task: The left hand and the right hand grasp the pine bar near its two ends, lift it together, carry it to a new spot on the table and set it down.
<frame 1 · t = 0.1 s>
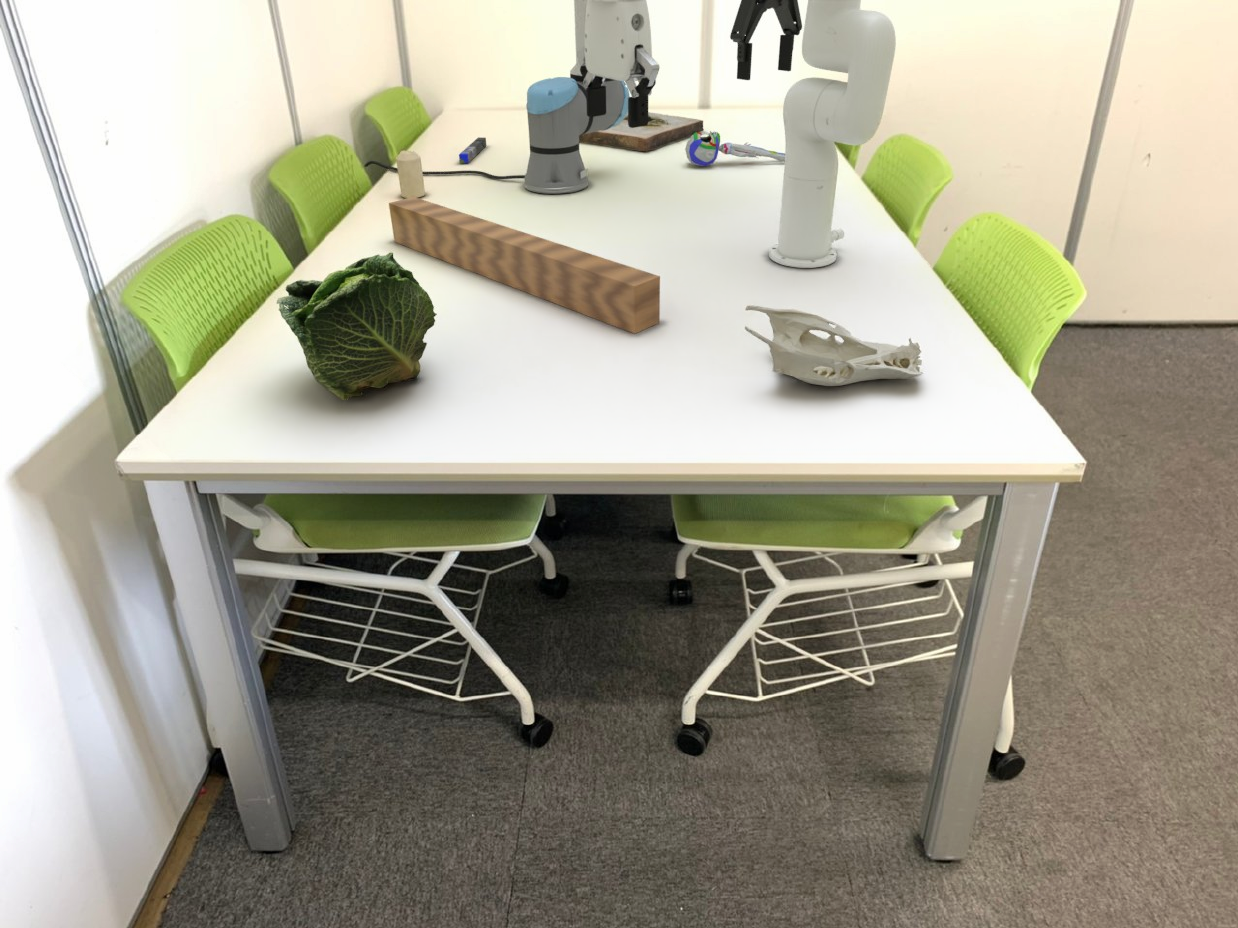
left hand: (764, 75, 179), 28 cm above the table, tool pointing down, fingers open, 13 cm apart
right hand: (616, 121, 130), 31 cm above the table, tool pointing down, fingers open, 9 cm apart
anatomical model: (829, 376, 128), on the table
bar: (512, 278, 163), on the table
vegetable: (370, 382, 129), on the table
toy: (743, 164, 230), on the table
candle: (413, 196, 210), on the table
grey and blue rod: (473, 155, 243), on the table
plaque: (633, 136, 259), on the table
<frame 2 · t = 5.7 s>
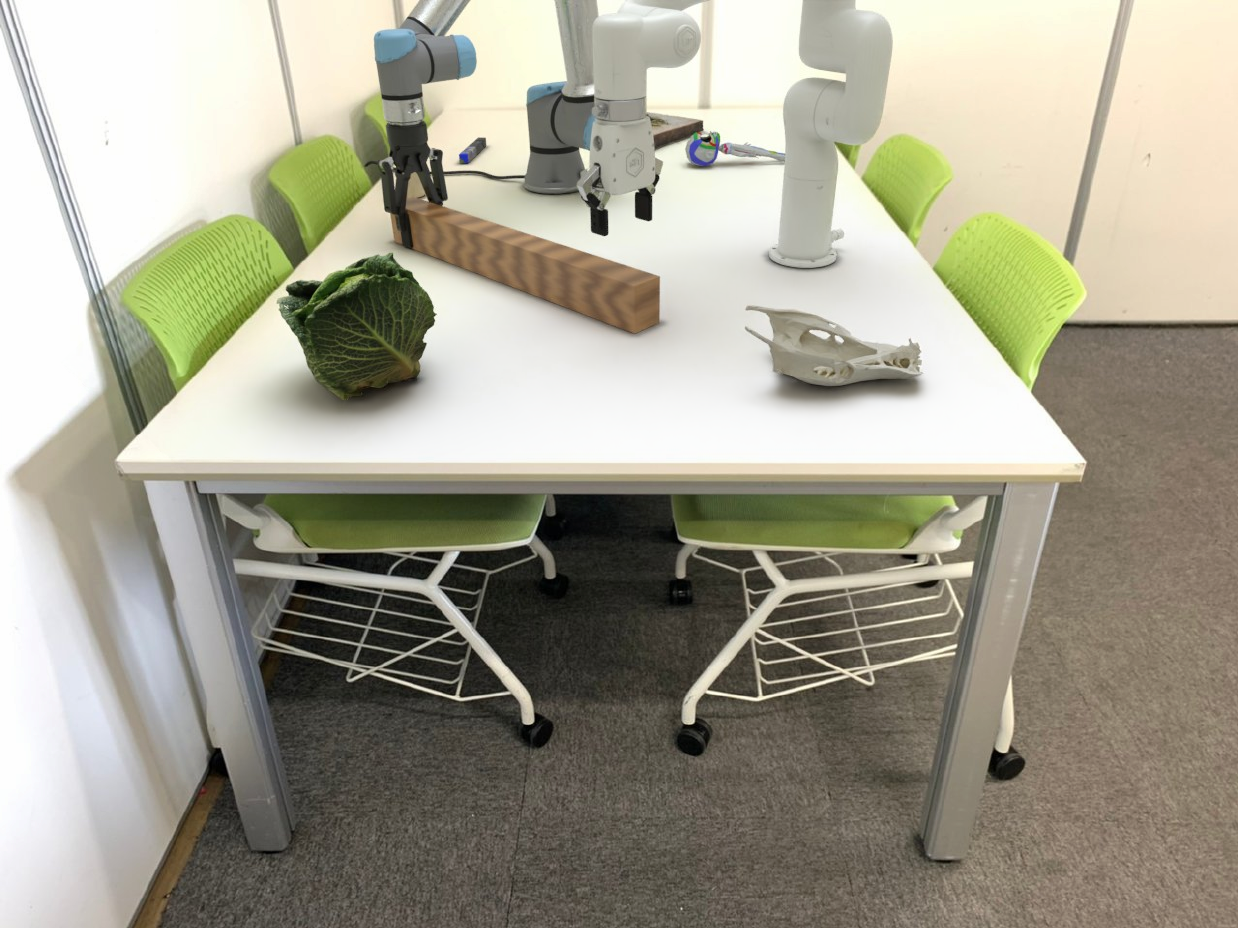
left hand: (421, 242, 180), 0 cm above the table, tool pointing down, fingers closed on bar, 6 cm apart
right hand: (622, 226, 138), 15 cm above the table, tool pointing down, fingers open, 9 cm apart
bar: (512, 278, 163), on the table, touching left hand
everything else where it was.
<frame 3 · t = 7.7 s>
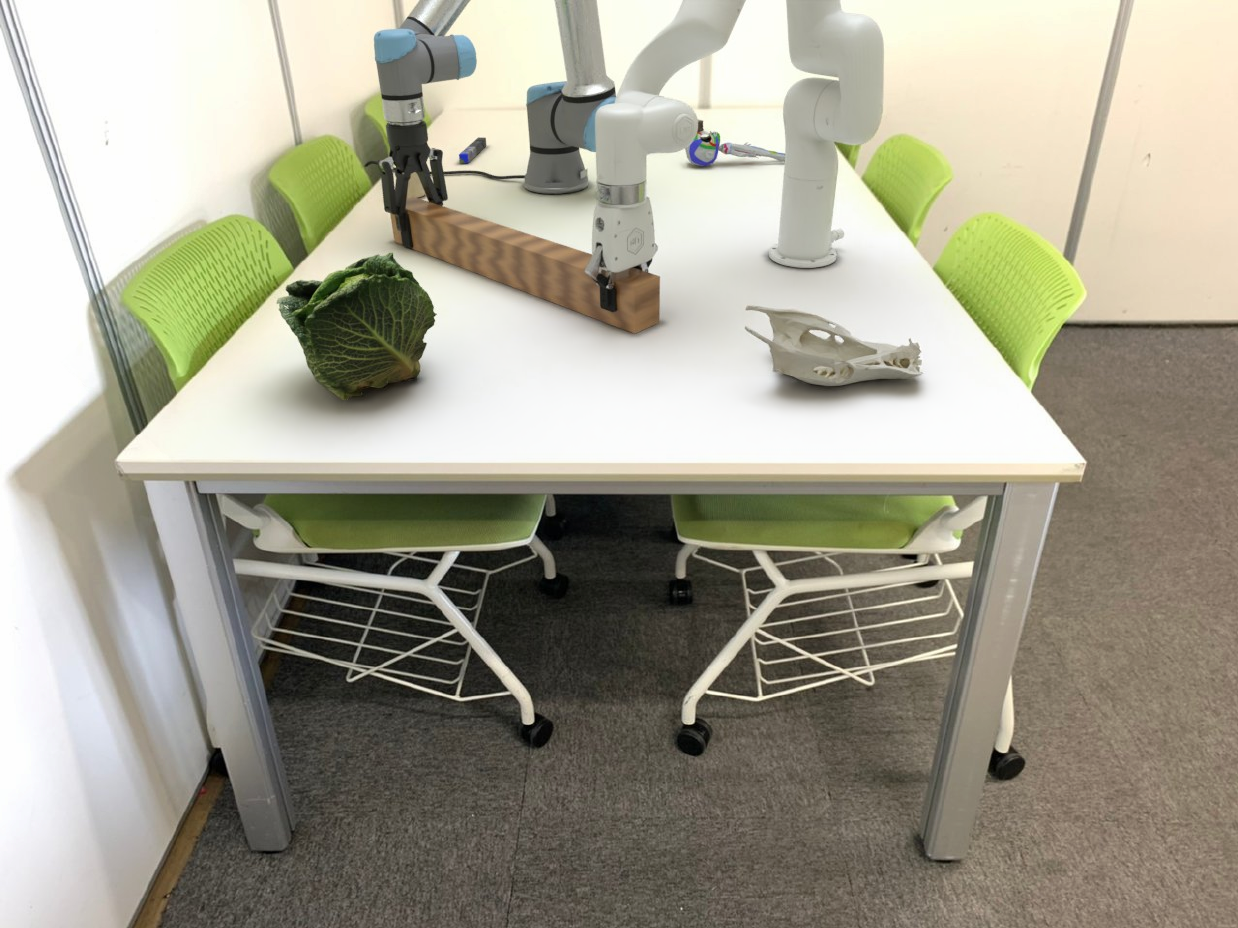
left hand: (421, 242, 180), 0 cm above the table, tool pointing down, fingers closed on bar, 6 cm apart
right hand: (623, 302, 145), 3 cm above the table, tool pointing down, fingers closed on bar, 6 cm apart
bar: (512, 278, 163), on the table, touching left hand, right hand
everything else where it was.
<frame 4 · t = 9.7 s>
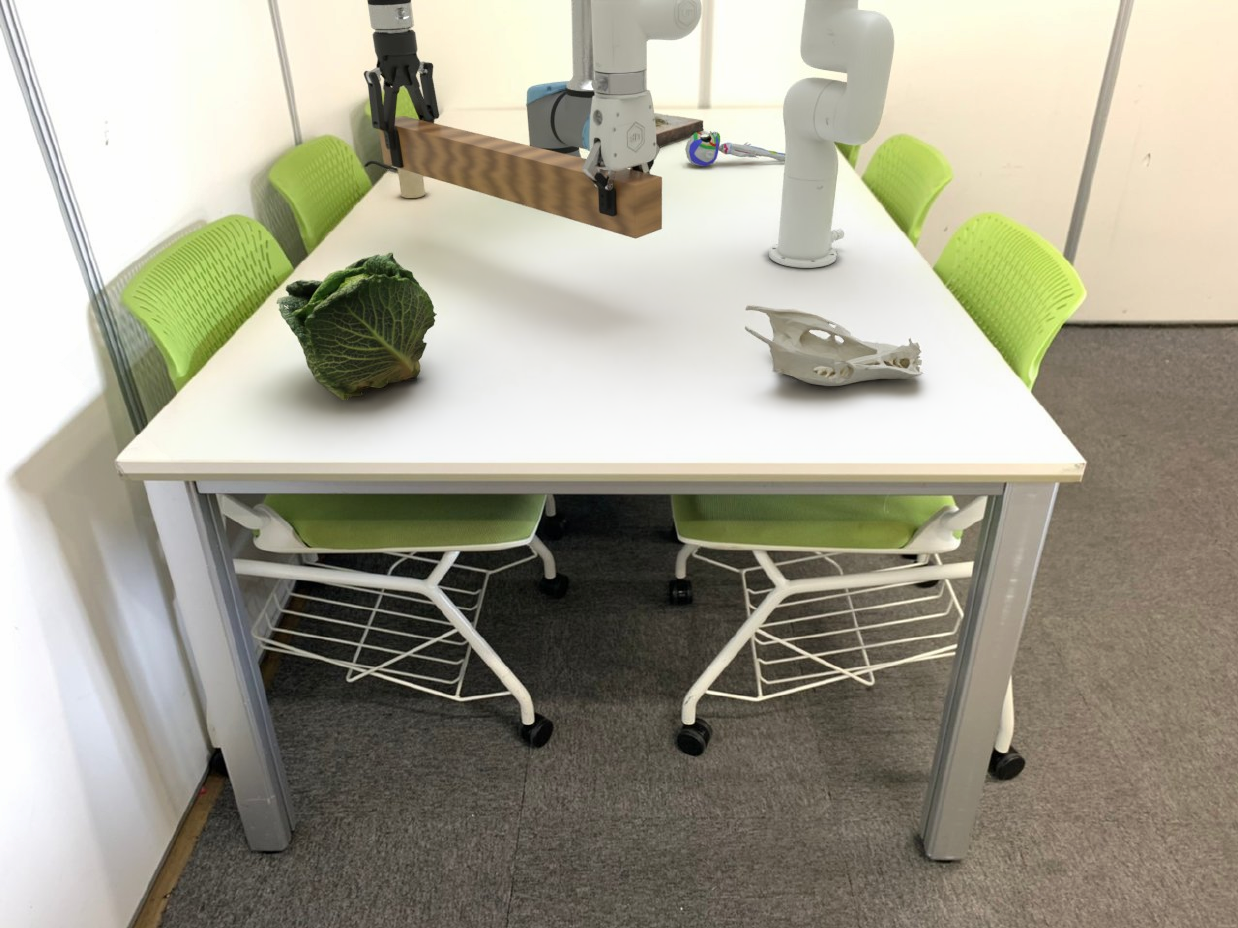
left hand: (412, 162, 172), 16 cm above the table, tool pointing down, fingers closed on bar, 6 cm apart
right hand: (623, 208, 137), 18 cm above the table, tool pointing down, fingers closed on bar, 6 cm apart
bar: (506, 192, 155), point 15 cm above the table, touching left hand, right hand
everything else where it was.
when the left hand's fingers open (2 cm above the table, at t = 13.9 s): bar moves 1 cm, on the table.
when the right hand's fingers open (4 cm above the table, at t = 14.0 s): bar stays where it is, on the table.
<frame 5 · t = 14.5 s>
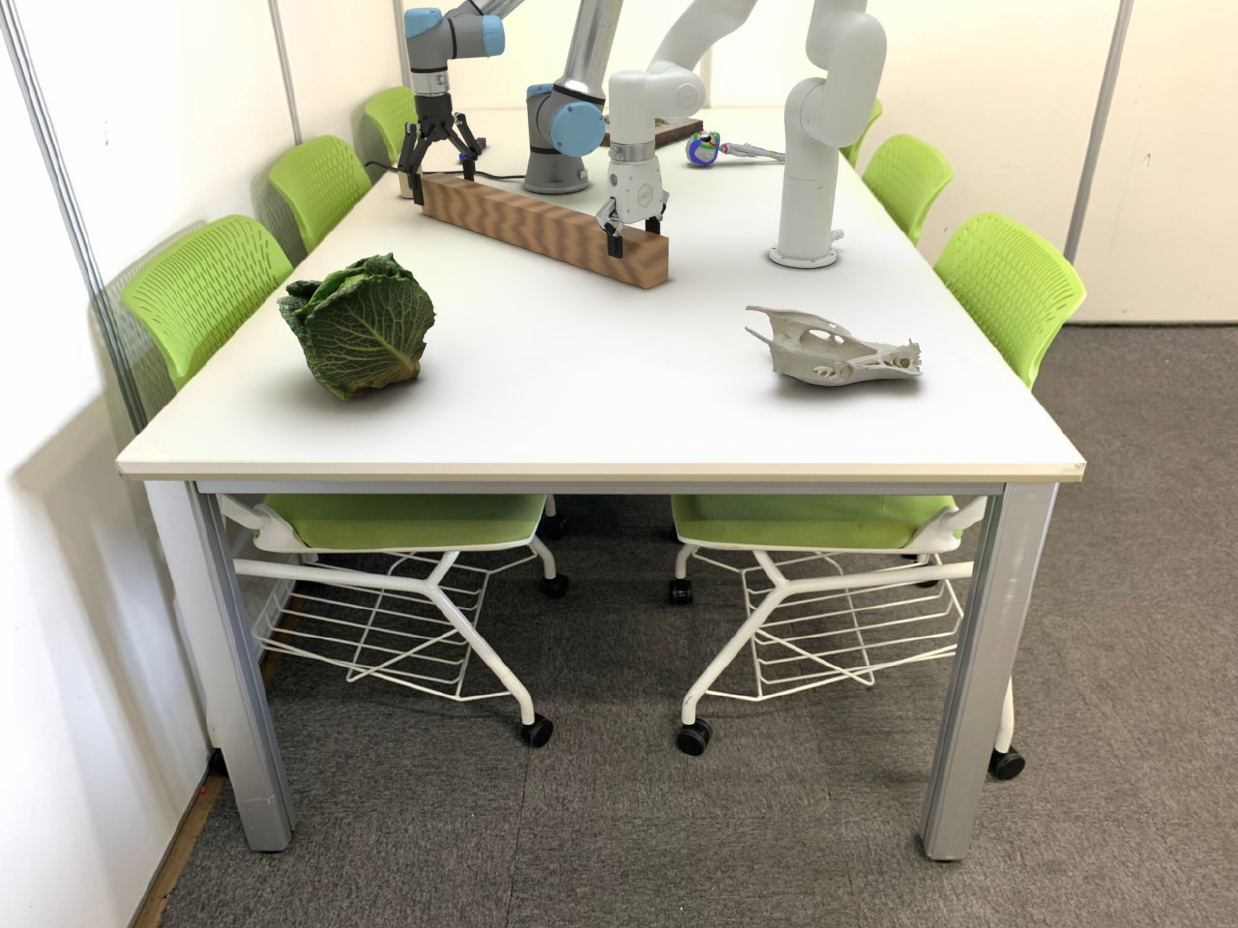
left hand: (445, 197, 194), 4 cm above the table, tool pointing down, fingers open, 13 cm apart
right hand: (634, 249, 160), 5 cm above the table, tool pointing down, fingers open, 9 cm apart
bar: (532, 243, 179), on the table
everything else where it was.
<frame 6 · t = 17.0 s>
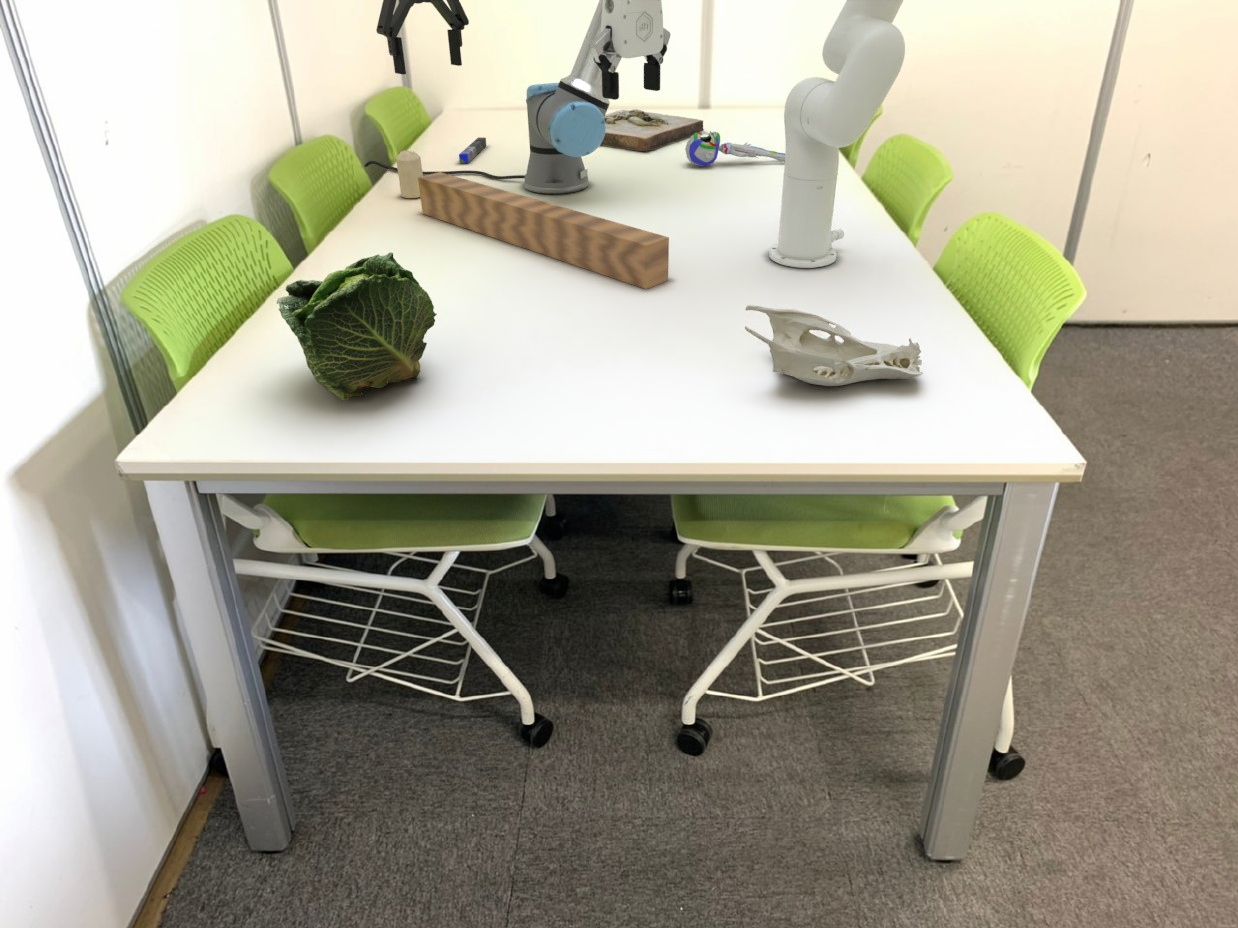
left hand: (429, 69, 180), 30 cm above the table, tool pointing down, fingers open, 13 cm apart
right hand: (631, 94, 146), 31 cm above the table, tool pointing down, fingers open, 9 cm apart
nothing on the table moved.
at the end: bar inside the target area (0.4 cm from its centre), on the table; bar tilted 0°; bar never tilted more than 2° during the clip; both hands held the bar at the same time; the left hand is holding nothing; the right hand is holding nothing; bar at rest at the end (0.0 cm/s) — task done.
